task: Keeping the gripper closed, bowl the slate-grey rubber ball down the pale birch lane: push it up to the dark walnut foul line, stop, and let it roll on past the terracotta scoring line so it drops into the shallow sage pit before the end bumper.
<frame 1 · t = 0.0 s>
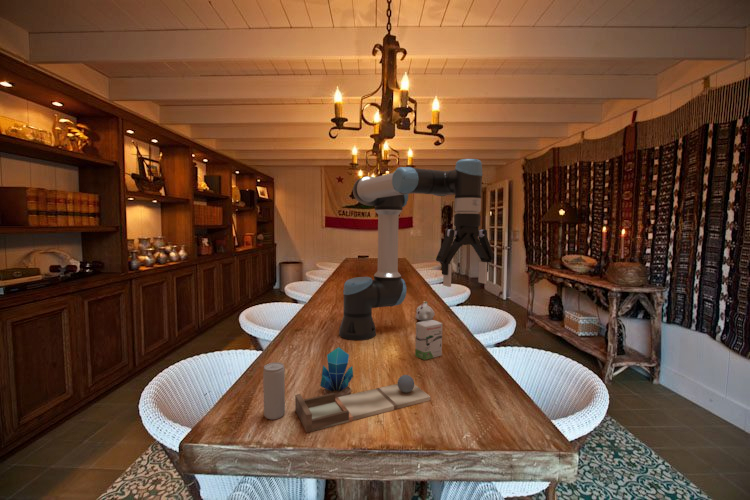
hand: (465, 284, 104), 28 cm above the table, fingers open, 13 cm apart
beverage can: (274, 415, 83), on the table
gemstone: (336, 393, 94), on the table
lane: (365, 405, 88), on the table
ball: (405, 383, 93), point 3 cm above the table, touching lane
ink box: (428, 356, 122), on the table
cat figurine: (424, 321, 166), on the table
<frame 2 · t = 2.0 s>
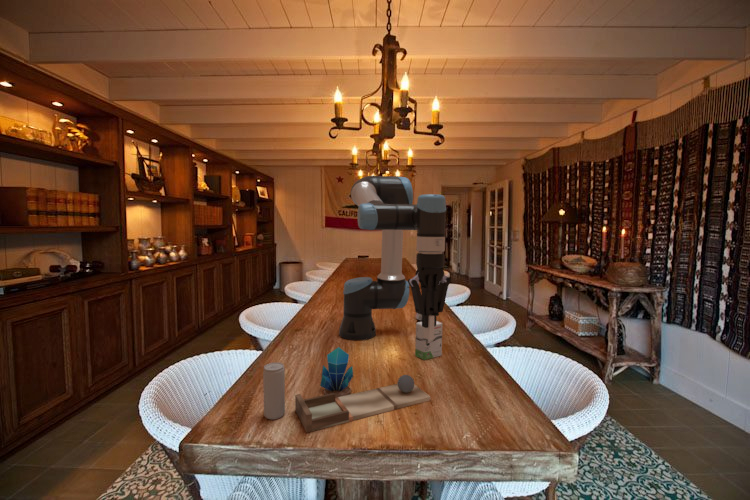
hand: (428, 338, 95), 15 cm above the table, fingers closed
nothing on the table moved.
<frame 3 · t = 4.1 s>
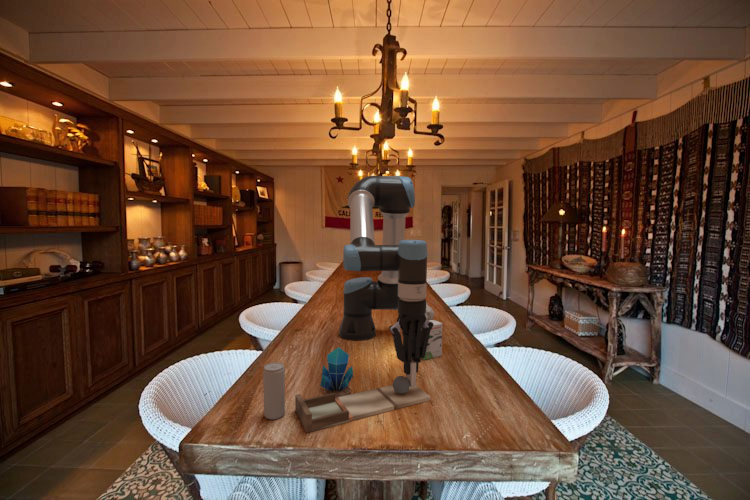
hand: (410, 384, 94), 3 cm above the table, fingers closed
ball: (401, 384, 93), point 3 cm above the table, tilted 32°, touching gripper, lane
everything else where it was.
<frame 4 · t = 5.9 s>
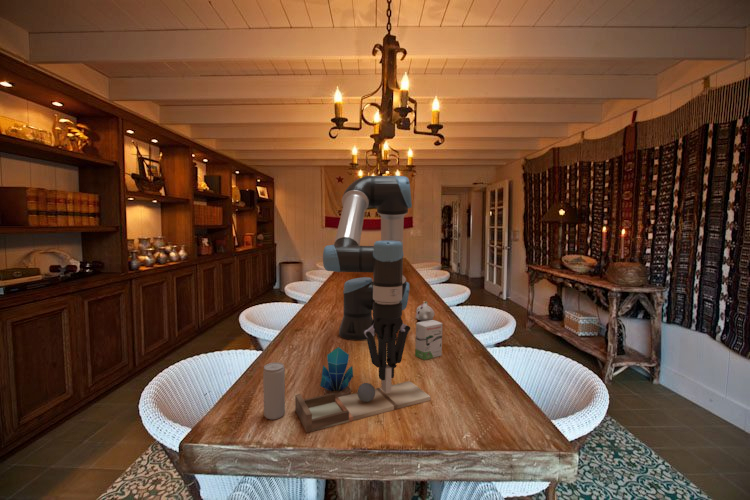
hand: (386, 390, 91), 3 cm above the table, fingers closed
ball: (366, 392, 88), point 3 cm above the table, tilted 94°, touching lane
everything else where it was.
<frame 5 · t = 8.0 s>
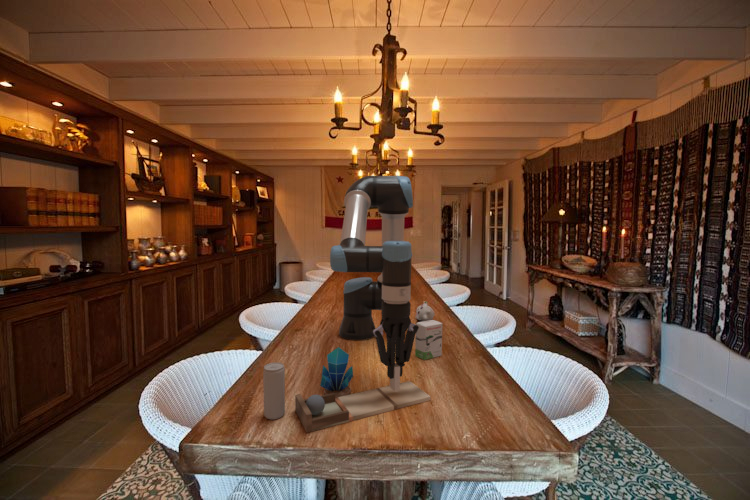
hand: (394, 388, 92), 2 cm above the table, fingers closed
ball: (315, 404, 83), point 3 cm above the table, tilted 116°, touching lane
everything else where it was.
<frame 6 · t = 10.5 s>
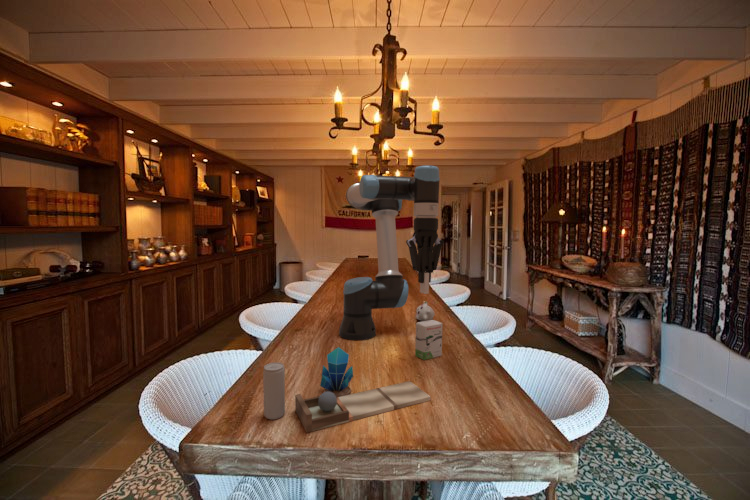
hand: (424, 292, 109), 24 cm above the table, fingers closed
ball: (327, 401, 85), point 3 cm above the table, tilted 165°, touching lane
everything else where it was.
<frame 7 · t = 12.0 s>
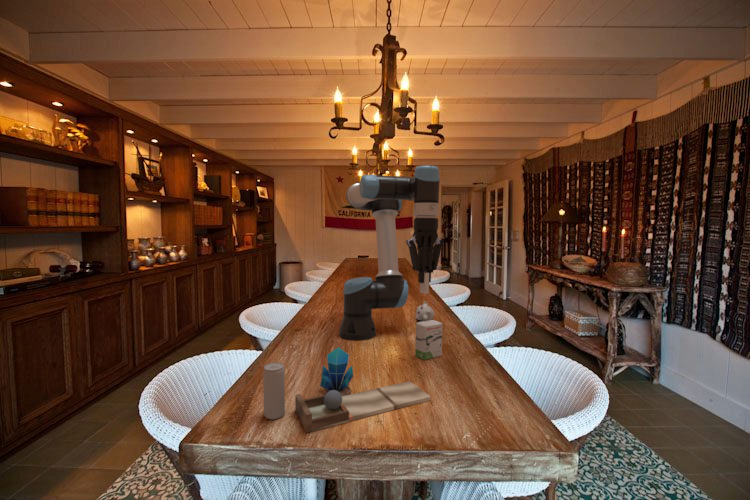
hand: (424, 292, 109), 24 cm above the table, fingers closed
ball: (333, 399, 85), point 3 cm above the table, tilted 128°, touching lane
everything else where it was.
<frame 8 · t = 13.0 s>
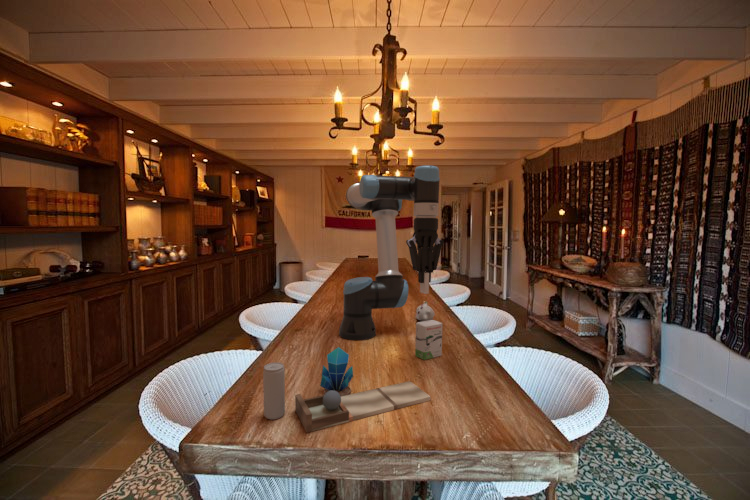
hand: (424, 292, 109), 24 cm above the table, fingers closed
ball: (331, 400, 85), point 3 cm above the table, tilted 136°, touching lane
everything else where it was.
at the end: ball inside the target area on the lane (3.7 cm from its centre), point 2.6 cm above the lane's base; the gripper is holding nothing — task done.
